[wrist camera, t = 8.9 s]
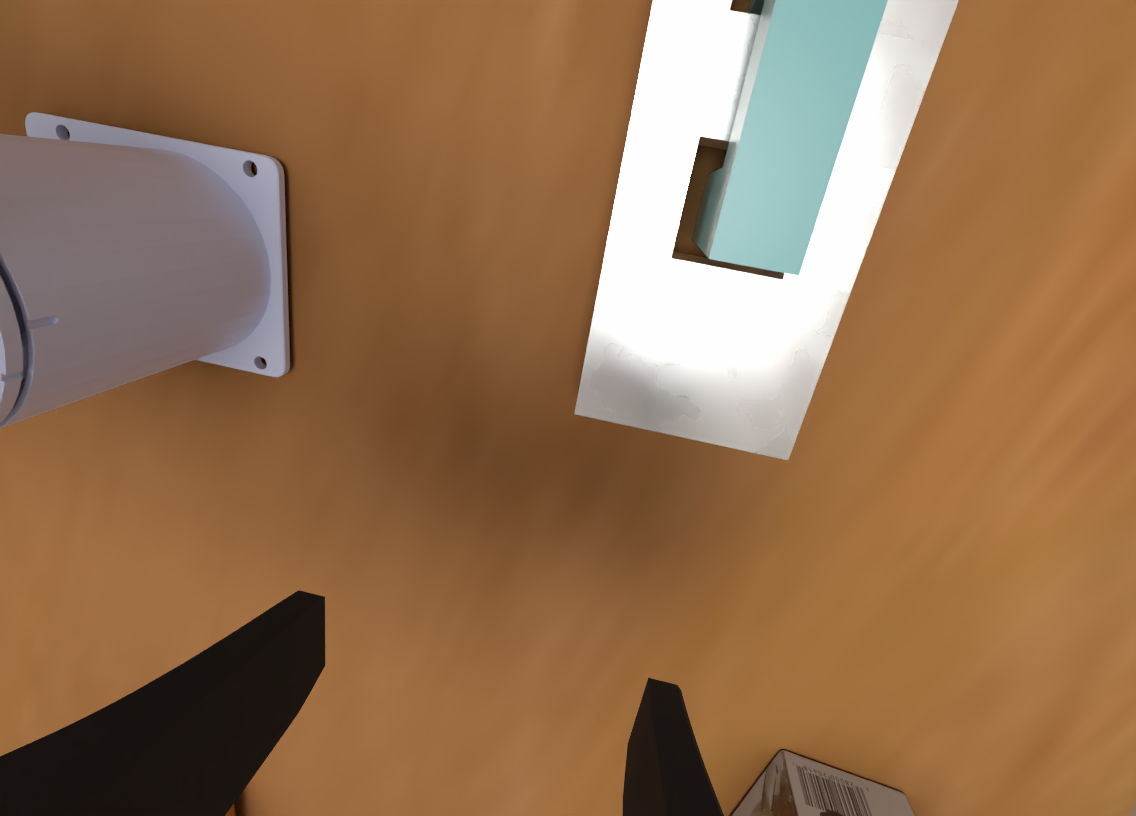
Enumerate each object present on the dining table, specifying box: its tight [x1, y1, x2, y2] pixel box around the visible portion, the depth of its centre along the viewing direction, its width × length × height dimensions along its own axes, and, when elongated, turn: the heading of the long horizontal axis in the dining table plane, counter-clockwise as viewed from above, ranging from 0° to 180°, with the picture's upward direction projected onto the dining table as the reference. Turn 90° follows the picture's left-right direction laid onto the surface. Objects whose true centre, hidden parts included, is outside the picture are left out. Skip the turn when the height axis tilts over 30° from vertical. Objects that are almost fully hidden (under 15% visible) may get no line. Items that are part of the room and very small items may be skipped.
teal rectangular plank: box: [692, 0, 888, 276], centre depth 13 cm, size 2×8×6 cm, turn 171°
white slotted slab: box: [574, 0, 959, 460], centre depth 15 cm, size 7×20×2 cm, turn 171°
